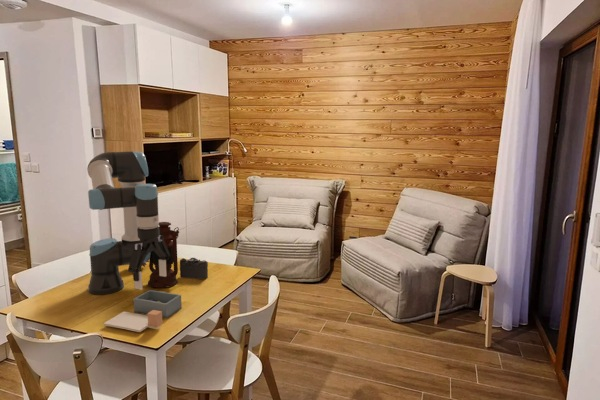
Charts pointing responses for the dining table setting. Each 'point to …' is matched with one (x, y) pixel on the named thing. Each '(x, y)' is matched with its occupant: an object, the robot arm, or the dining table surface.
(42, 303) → the dining table surface
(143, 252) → the robot arm
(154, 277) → the lantern
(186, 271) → the camera
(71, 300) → the dining table surface
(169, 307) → the tub
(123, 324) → the lid
